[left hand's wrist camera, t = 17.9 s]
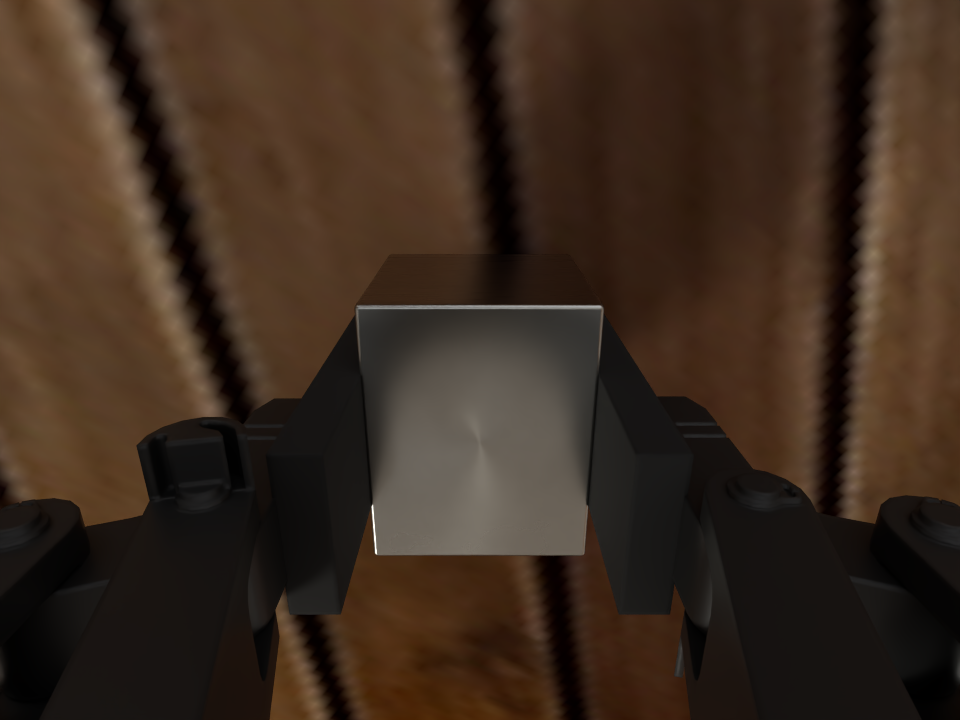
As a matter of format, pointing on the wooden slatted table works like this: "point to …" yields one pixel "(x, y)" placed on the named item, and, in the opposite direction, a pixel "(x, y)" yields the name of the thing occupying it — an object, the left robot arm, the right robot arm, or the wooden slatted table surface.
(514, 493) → the block
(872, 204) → the wooden slatted table surface
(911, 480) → the wooden slatted table surface
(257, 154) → the wooden slatted table surface
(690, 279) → the wooden slatted table surface
